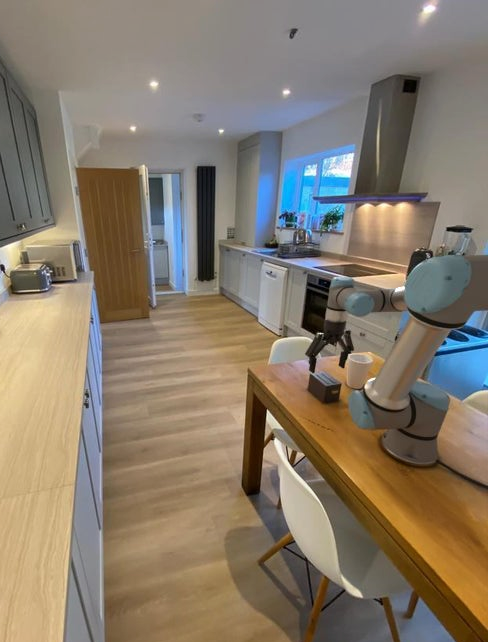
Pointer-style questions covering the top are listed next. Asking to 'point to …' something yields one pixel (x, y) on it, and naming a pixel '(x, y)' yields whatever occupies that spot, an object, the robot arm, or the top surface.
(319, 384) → the dark slotted box
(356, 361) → the foam cup
